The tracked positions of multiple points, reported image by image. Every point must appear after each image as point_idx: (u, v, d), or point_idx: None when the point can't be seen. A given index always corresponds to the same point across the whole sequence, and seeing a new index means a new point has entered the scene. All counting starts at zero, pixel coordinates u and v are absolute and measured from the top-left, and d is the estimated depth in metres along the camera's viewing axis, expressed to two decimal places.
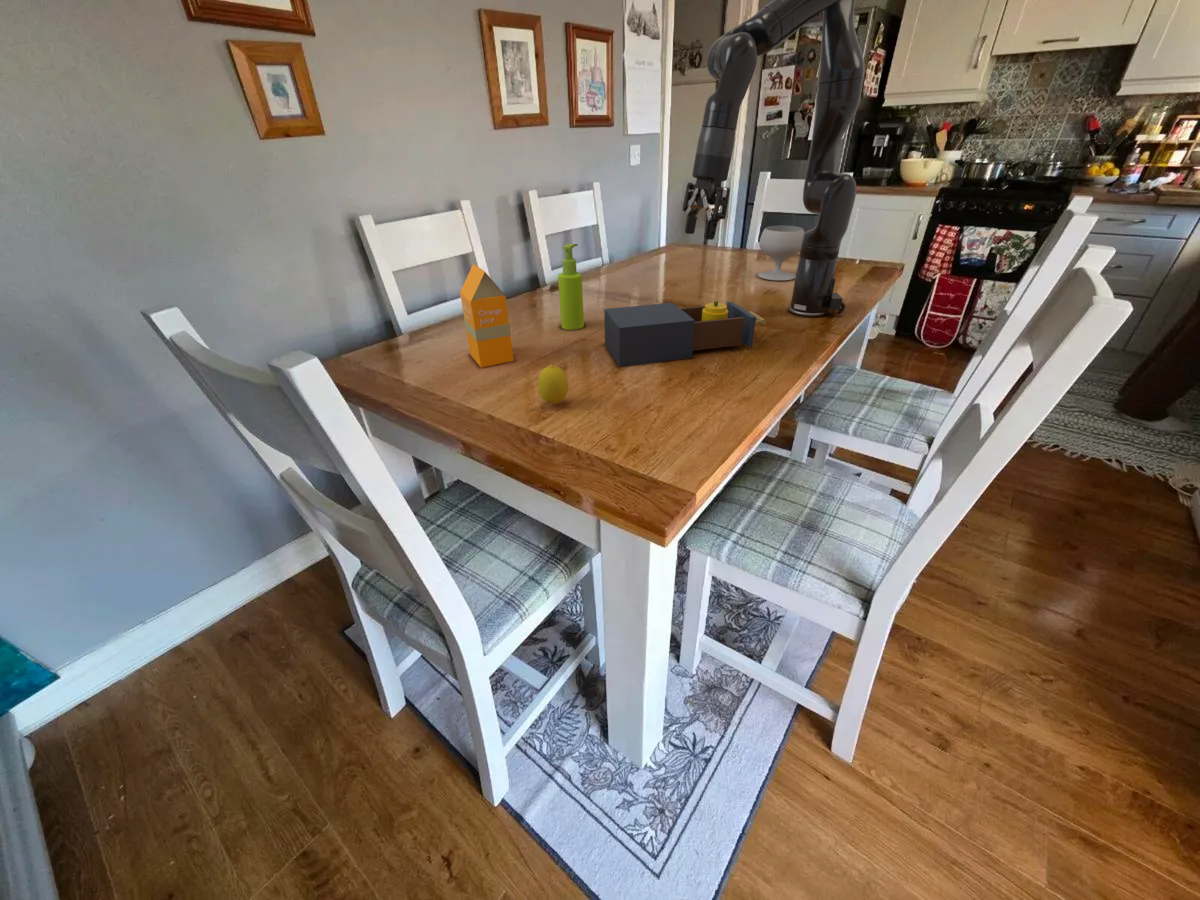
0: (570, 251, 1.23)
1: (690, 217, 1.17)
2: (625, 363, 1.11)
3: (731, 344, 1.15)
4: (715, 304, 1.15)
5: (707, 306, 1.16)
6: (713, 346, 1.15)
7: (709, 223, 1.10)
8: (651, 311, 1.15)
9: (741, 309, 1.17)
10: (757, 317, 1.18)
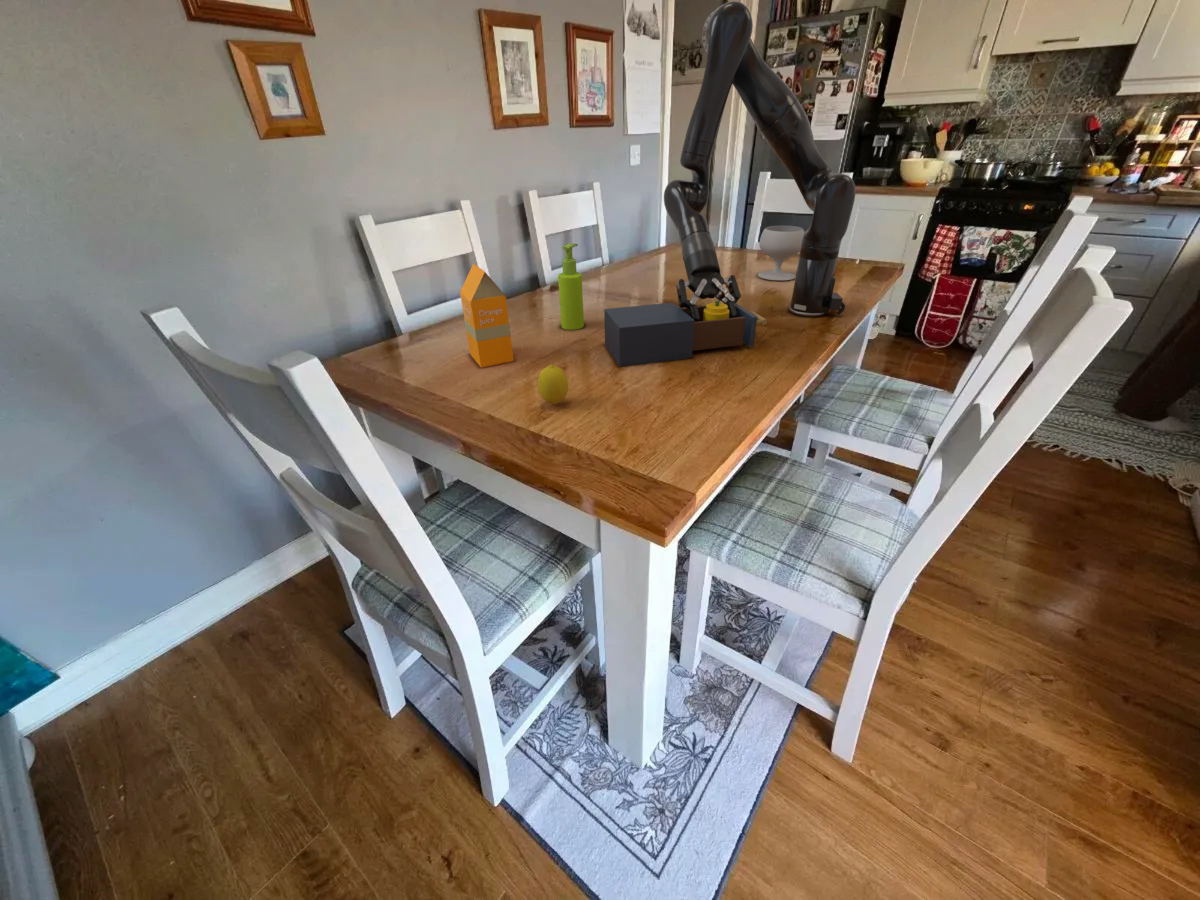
0: (570, 251, 1.23)
1: None
2: (625, 363, 1.11)
3: (732, 344, 1.16)
4: (716, 304, 1.15)
5: (708, 306, 1.16)
6: (714, 346, 1.15)
7: None
8: (651, 311, 1.15)
9: (742, 309, 1.17)
10: (758, 317, 1.18)
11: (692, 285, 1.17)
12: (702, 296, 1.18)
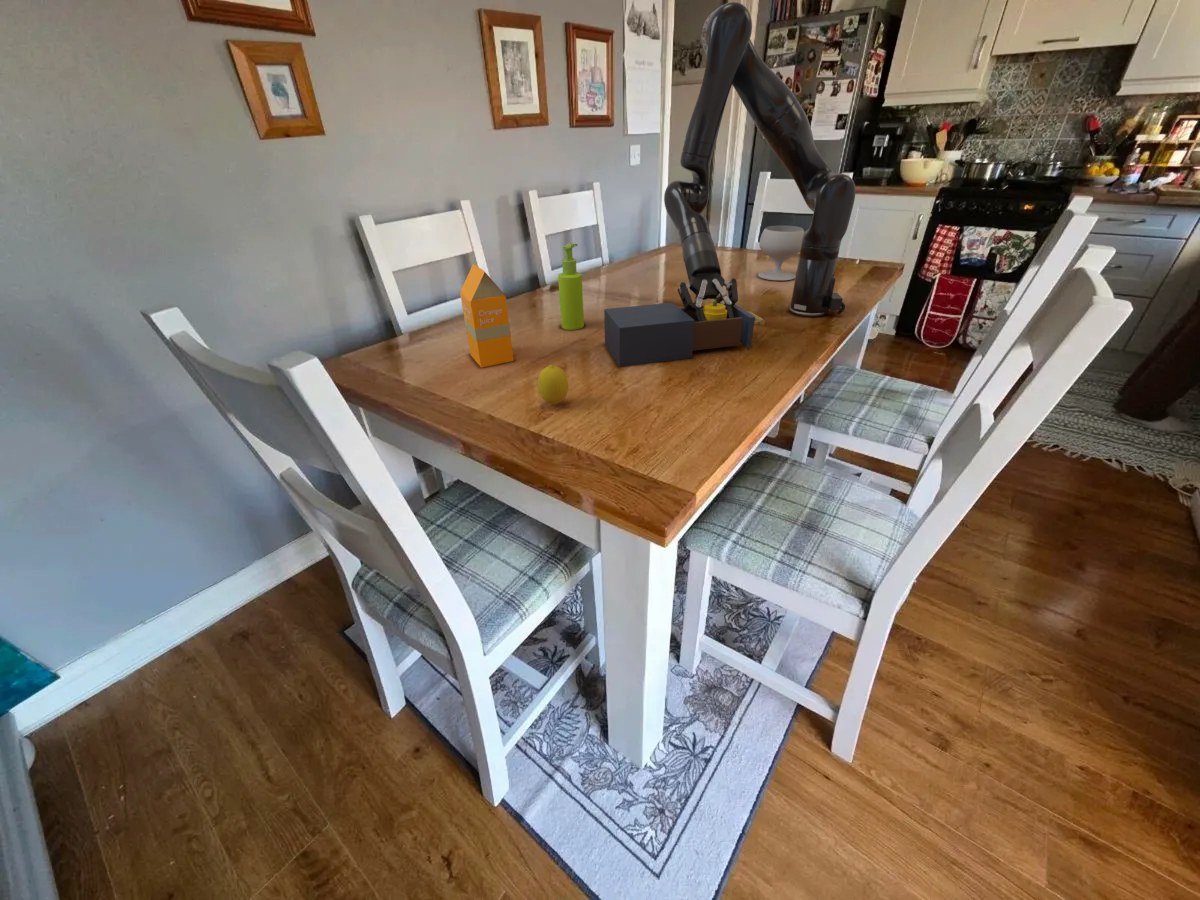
0: (570, 251, 1.23)
1: None
2: (625, 363, 1.11)
3: (730, 344, 1.15)
4: (714, 304, 1.15)
5: (706, 306, 1.15)
6: (712, 346, 1.15)
7: None
8: (651, 311, 1.15)
9: (740, 309, 1.17)
10: (756, 317, 1.18)
11: (693, 286, 1.17)
12: (703, 297, 1.17)
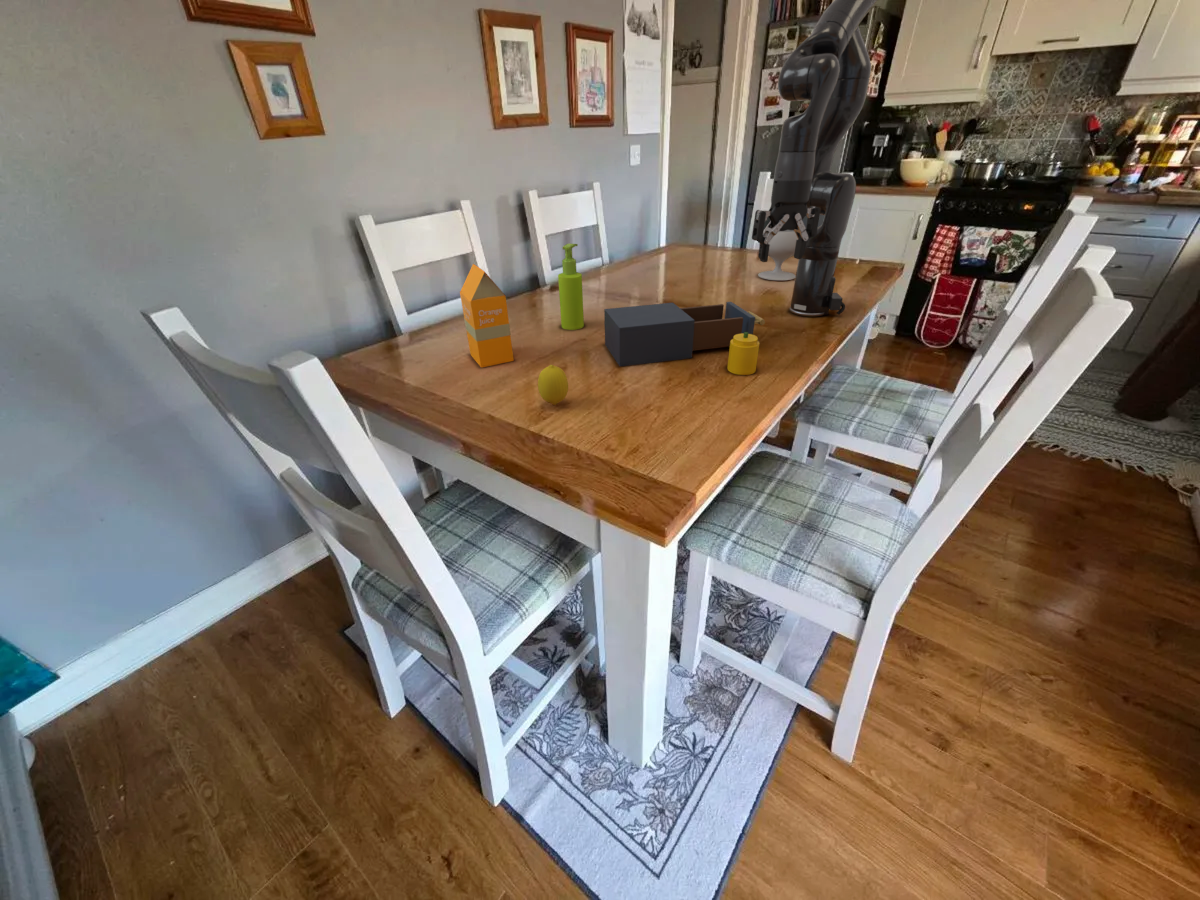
0: (570, 251, 1.23)
1: None
2: (625, 363, 1.11)
3: None
4: (745, 336, 1.03)
5: (736, 338, 1.04)
6: (712, 346, 1.15)
7: (804, 243, 1.12)
8: (651, 311, 1.15)
9: (740, 309, 1.17)
10: (756, 317, 1.18)
11: None
12: None
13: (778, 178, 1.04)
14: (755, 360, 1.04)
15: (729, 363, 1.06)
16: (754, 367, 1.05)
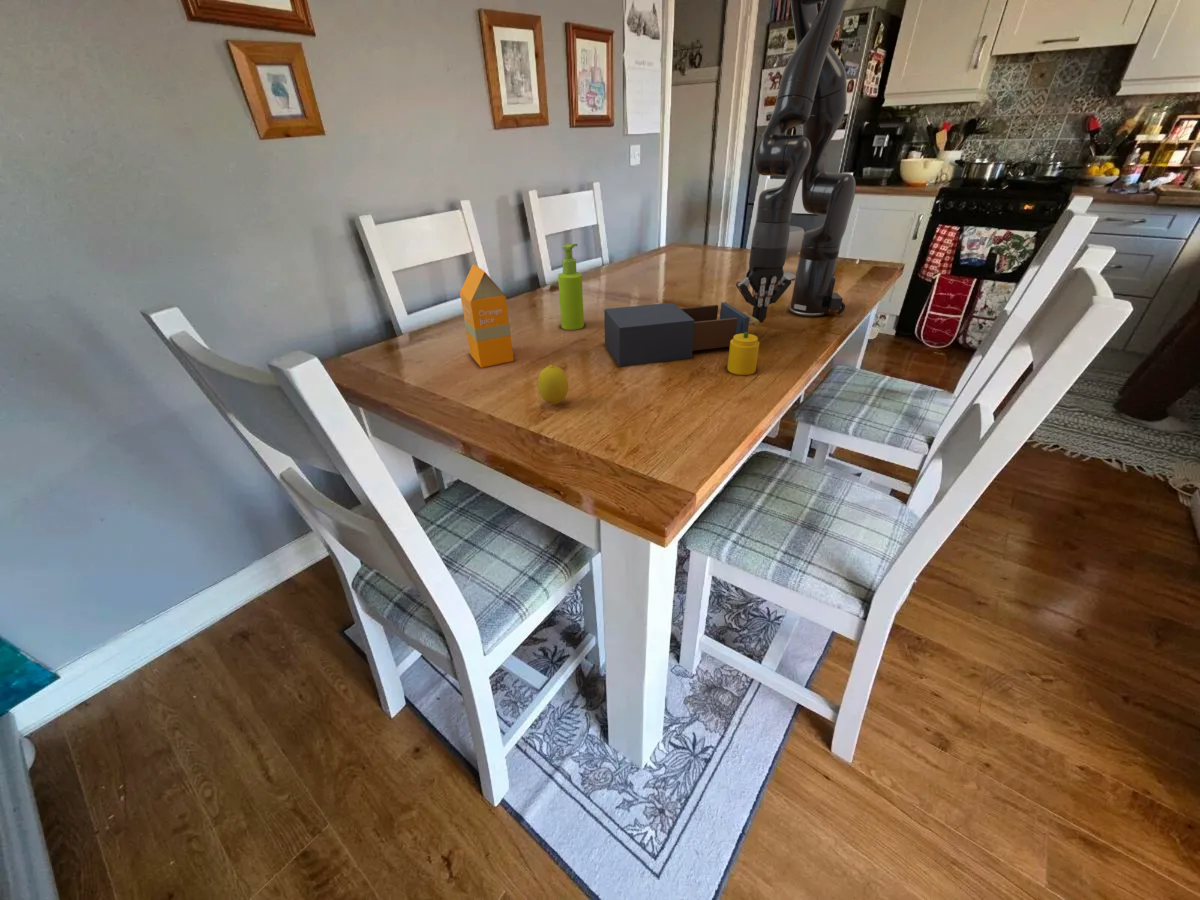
0: (570, 251, 1.23)
1: None
2: (625, 363, 1.11)
3: (724, 345, 1.15)
4: (745, 336, 1.03)
5: (736, 338, 1.04)
6: (706, 347, 1.14)
7: (765, 308, 1.18)
8: (651, 311, 1.15)
9: (735, 310, 1.17)
10: (751, 318, 1.18)
11: None
12: None
13: (755, 245, 1.10)
14: (755, 360, 1.04)
15: (729, 363, 1.06)
16: (754, 367, 1.05)
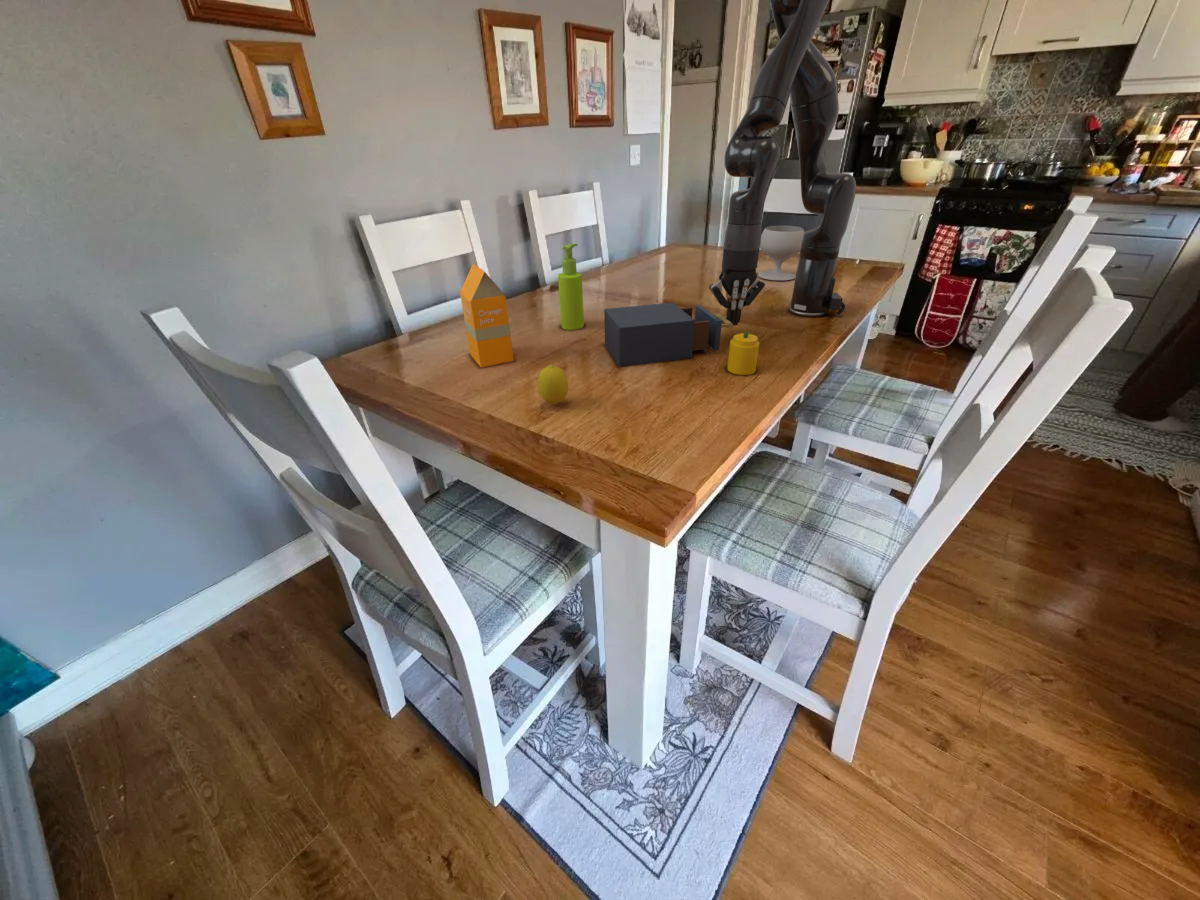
0: (570, 251, 1.23)
1: None
2: (625, 363, 1.11)
3: (697, 348, 1.14)
4: (745, 336, 1.03)
5: (736, 338, 1.04)
6: None
7: (739, 311, 1.17)
8: (651, 311, 1.15)
9: (708, 312, 1.16)
10: (725, 320, 1.17)
11: None
12: None
13: (727, 247, 1.08)
14: (755, 360, 1.04)
15: (729, 363, 1.06)
16: (754, 367, 1.05)
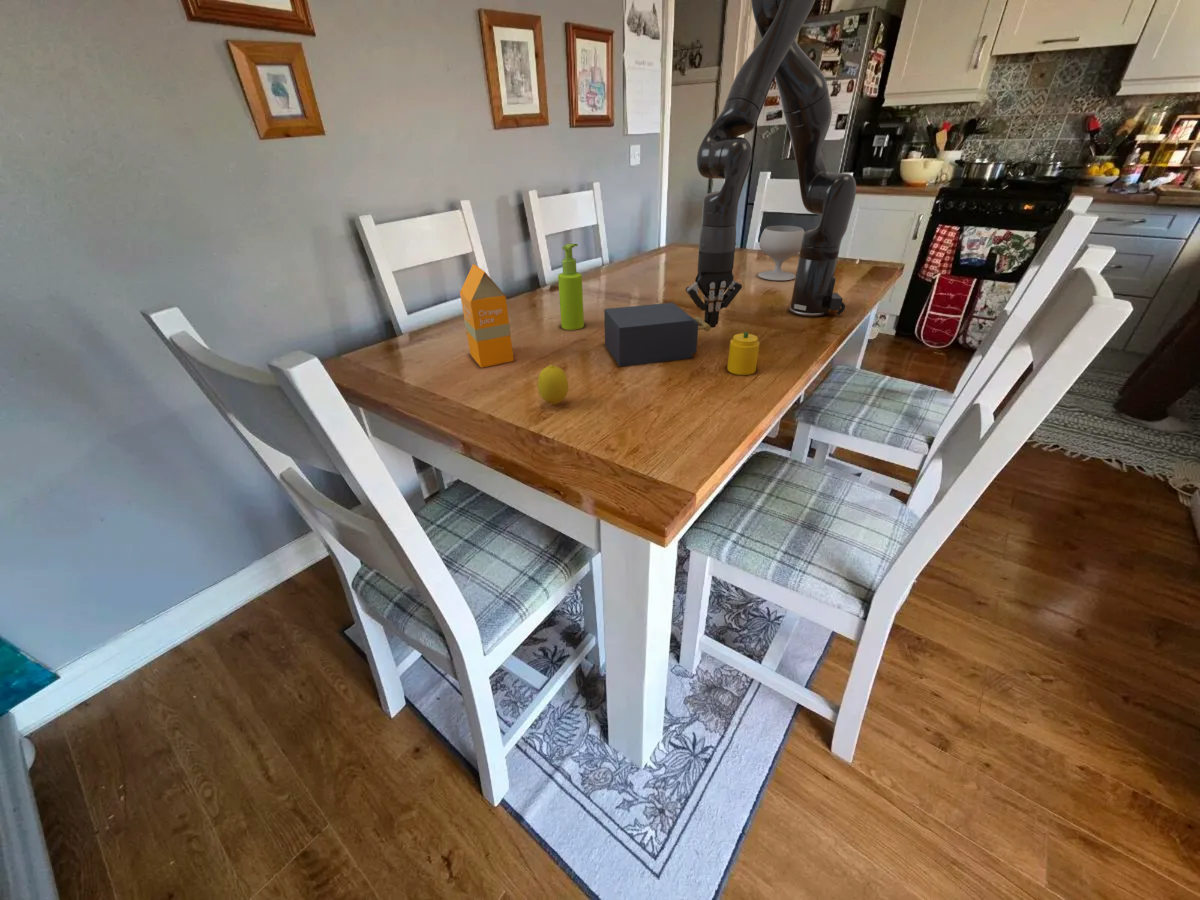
0: (570, 251, 1.23)
1: None
2: (625, 363, 1.11)
3: None
4: (745, 336, 1.03)
5: (736, 338, 1.04)
6: None
7: (716, 313, 1.16)
8: (651, 311, 1.15)
9: None
10: (702, 323, 1.16)
11: None
12: None
13: (702, 249, 1.07)
14: (755, 360, 1.04)
15: (729, 363, 1.06)
16: (754, 367, 1.05)
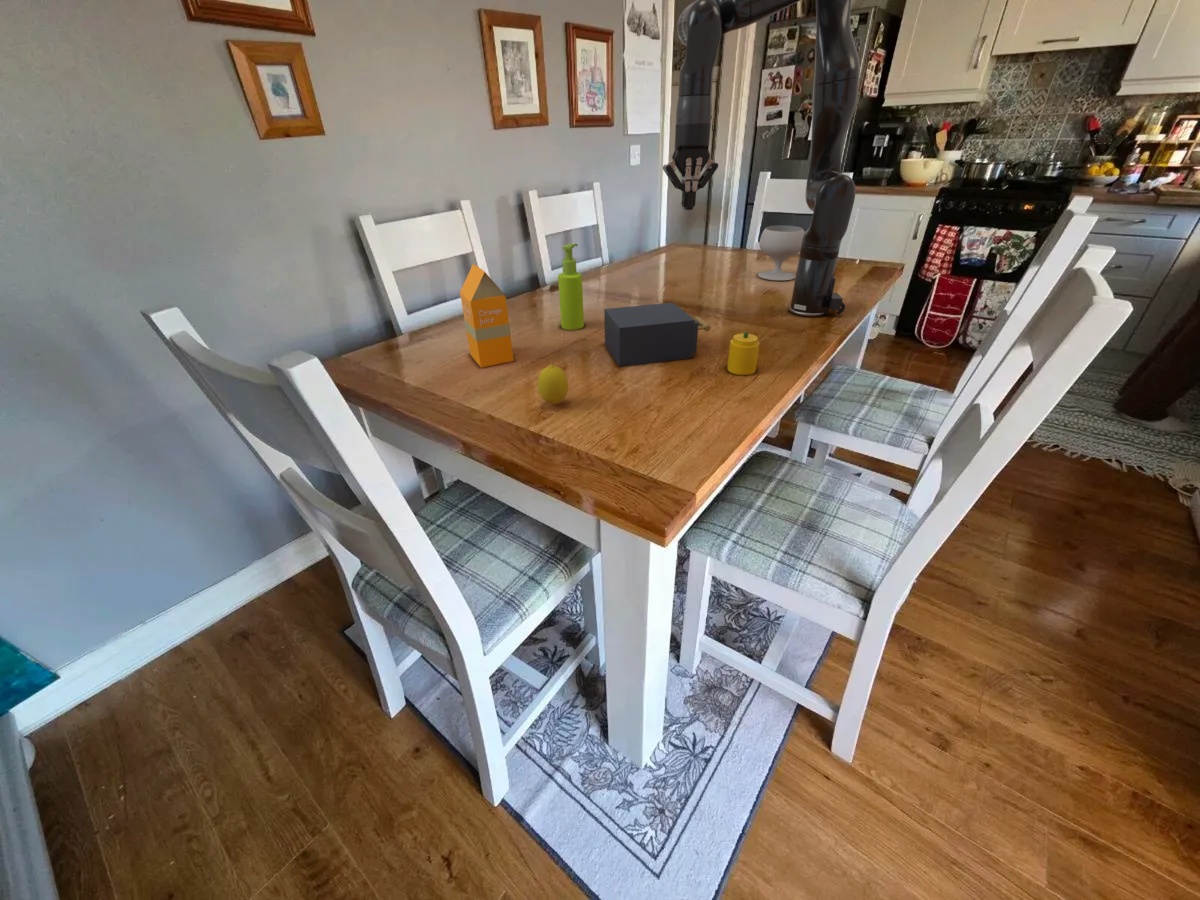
0: (570, 251, 1.23)
1: None
2: (625, 363, 1.11)
3: None
4: (745, 336, 1.03)
5: (736, 338, 1.04)
6: None
7: (693, 194, 1.18)
8: (651, 311, 1.15)
9: None
10: (702, 323, 1.16)
11: None
12: None
13: (678, 122, 1.09)
14: (755, 360, 1.04)
15: (729, 363, 1.06)
16: (754, 367, 1.05)
